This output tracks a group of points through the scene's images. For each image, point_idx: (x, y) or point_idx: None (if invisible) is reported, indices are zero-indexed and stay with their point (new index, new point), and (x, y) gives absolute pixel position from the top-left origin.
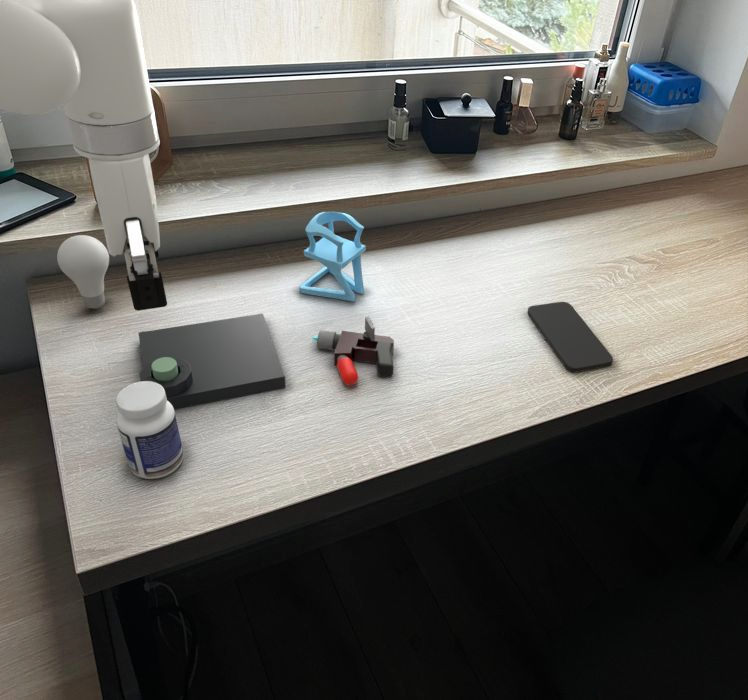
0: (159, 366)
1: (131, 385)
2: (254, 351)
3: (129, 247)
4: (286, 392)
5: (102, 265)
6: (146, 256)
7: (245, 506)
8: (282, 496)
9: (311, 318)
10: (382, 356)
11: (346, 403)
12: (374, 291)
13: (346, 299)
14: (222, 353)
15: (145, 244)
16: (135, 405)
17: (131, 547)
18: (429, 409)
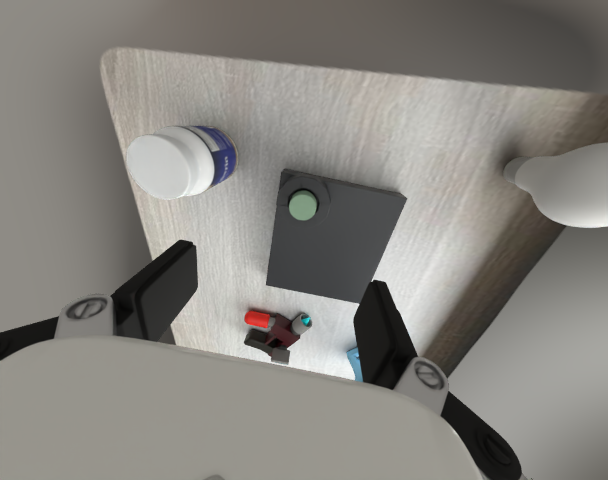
0: (300, 202)
1: (182, 164)
2: (310, 279)
3: (376, 309)
4: (263, 275)
5: (542, 207)
6: (360, 310)
7: (145, 202)
8: (150, 229)
9: (344, 324)
10: (256, 344)
11: (234, 301)
12: (350, 366)
13: (351, 351)
14: (321, 256)
15: (364, 337)
16: (136, 157)
17: (113, 99)
18: (210, 335)
